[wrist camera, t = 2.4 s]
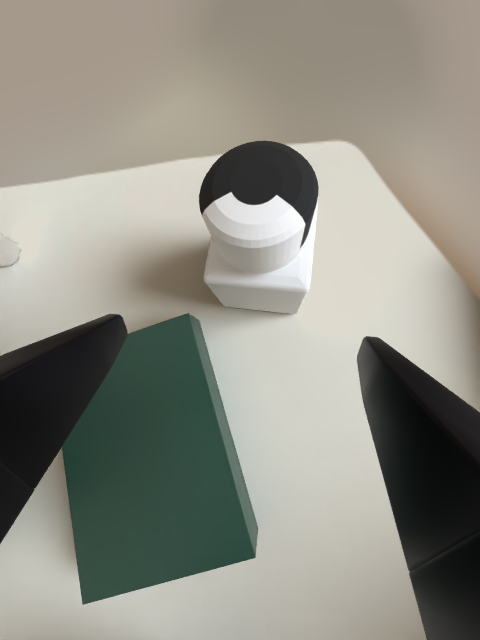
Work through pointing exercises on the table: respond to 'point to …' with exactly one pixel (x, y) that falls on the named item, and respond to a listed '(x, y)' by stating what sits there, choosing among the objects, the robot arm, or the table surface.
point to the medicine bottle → (260, 227)
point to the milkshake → (8, 250)
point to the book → (156, 469)
